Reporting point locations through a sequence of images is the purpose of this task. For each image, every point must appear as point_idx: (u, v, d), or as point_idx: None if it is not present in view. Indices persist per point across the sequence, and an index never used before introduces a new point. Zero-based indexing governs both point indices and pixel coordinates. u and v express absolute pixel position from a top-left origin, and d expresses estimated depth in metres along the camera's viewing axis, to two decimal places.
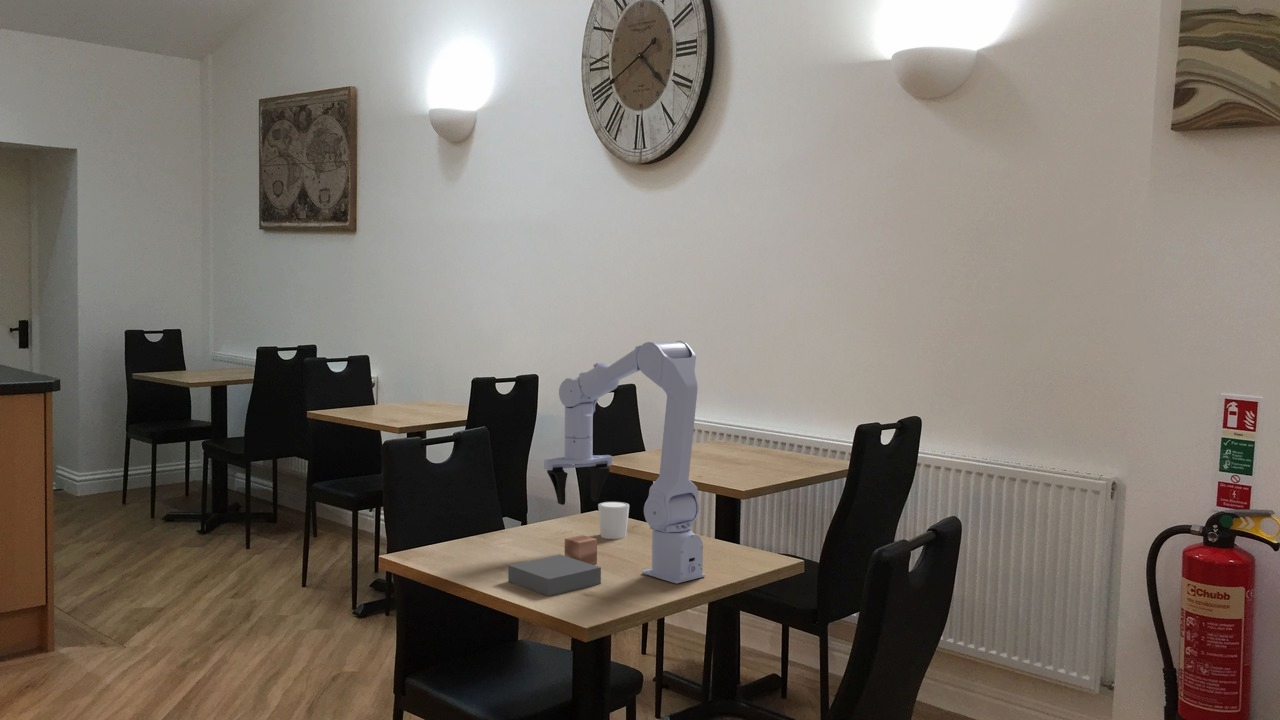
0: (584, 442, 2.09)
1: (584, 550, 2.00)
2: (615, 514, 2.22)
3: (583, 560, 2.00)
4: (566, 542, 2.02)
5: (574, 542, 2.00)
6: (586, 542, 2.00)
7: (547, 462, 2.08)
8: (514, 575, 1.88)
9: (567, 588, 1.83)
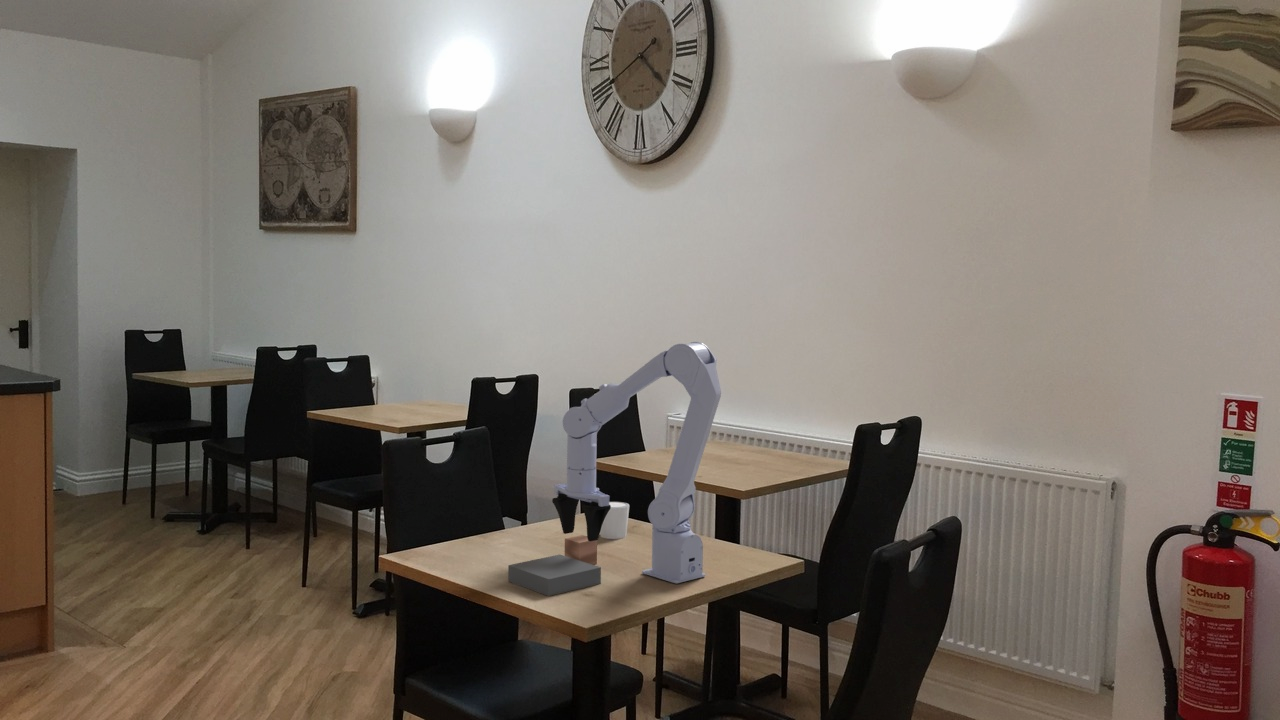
0: (570, 473, 1.99)
1: (584, 550, 2.00)
2: (615, 514, 2.22)
3: (583, 560, 2.00)
4: (566, 542, 2.02)
5: (574, 542, 2.00)
6: (586, 542, 2.00)
7: None
8: (514, 575, 1.88)
9: (567, 588, 1.83)
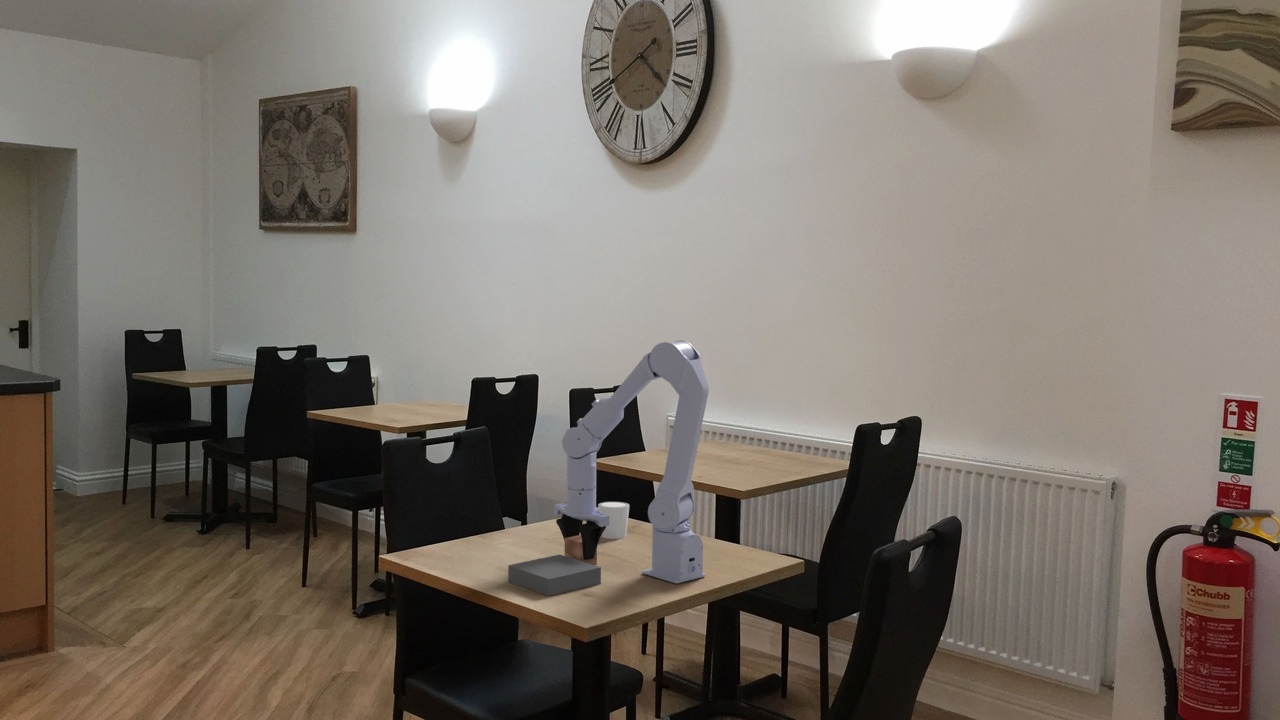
0: (569, 493, 1.99)
1: None
2: (615, 514, 2.22)
3: (583, 560, 2.00)
4: (566, 542, 2.02)
5: (574, 542, 2.00)
6: None
7: None
8: (514, 575, 1.88)
9: (567, 588, 1.83)
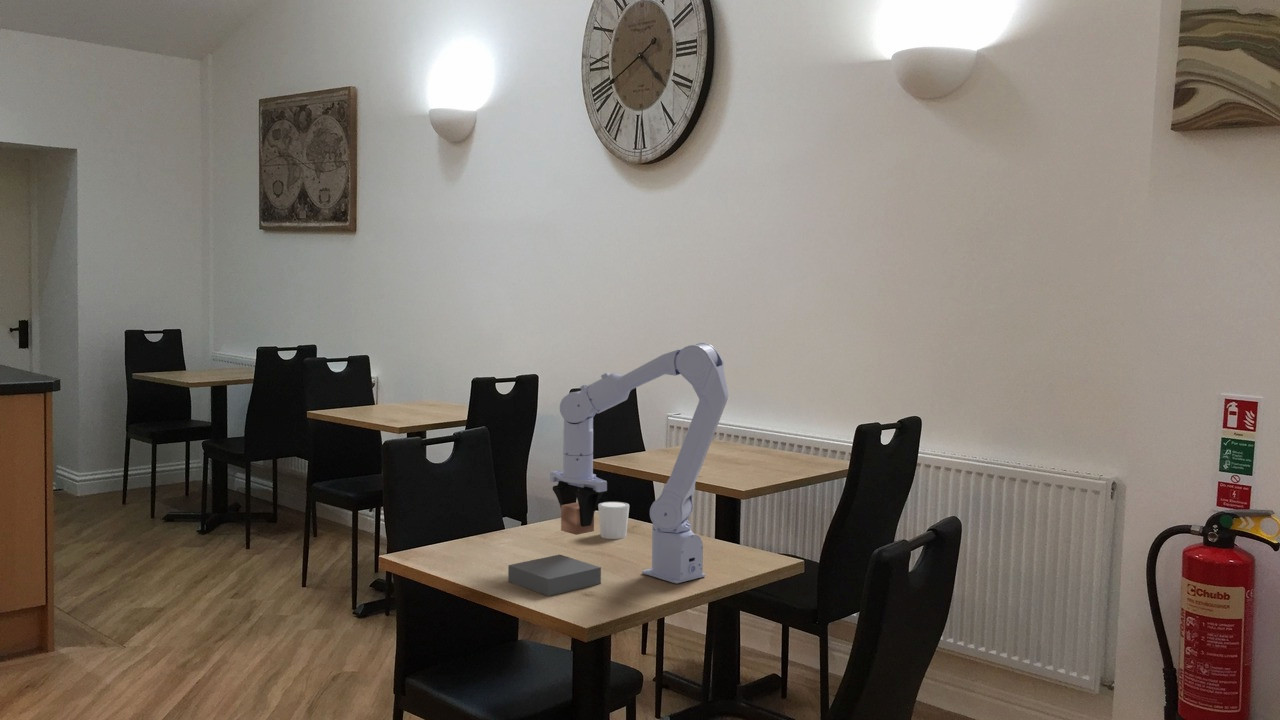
0: (566, 459, 1.97)
1: None
2: (615, 514, 2.22)
3: (580, 526, 1.97)
4: (563, 509, 1.99)
5: (571, 508, 1.97)
6: None
7: None
8: (514, 575, 1.88)
9: (567, 588, 1.83)
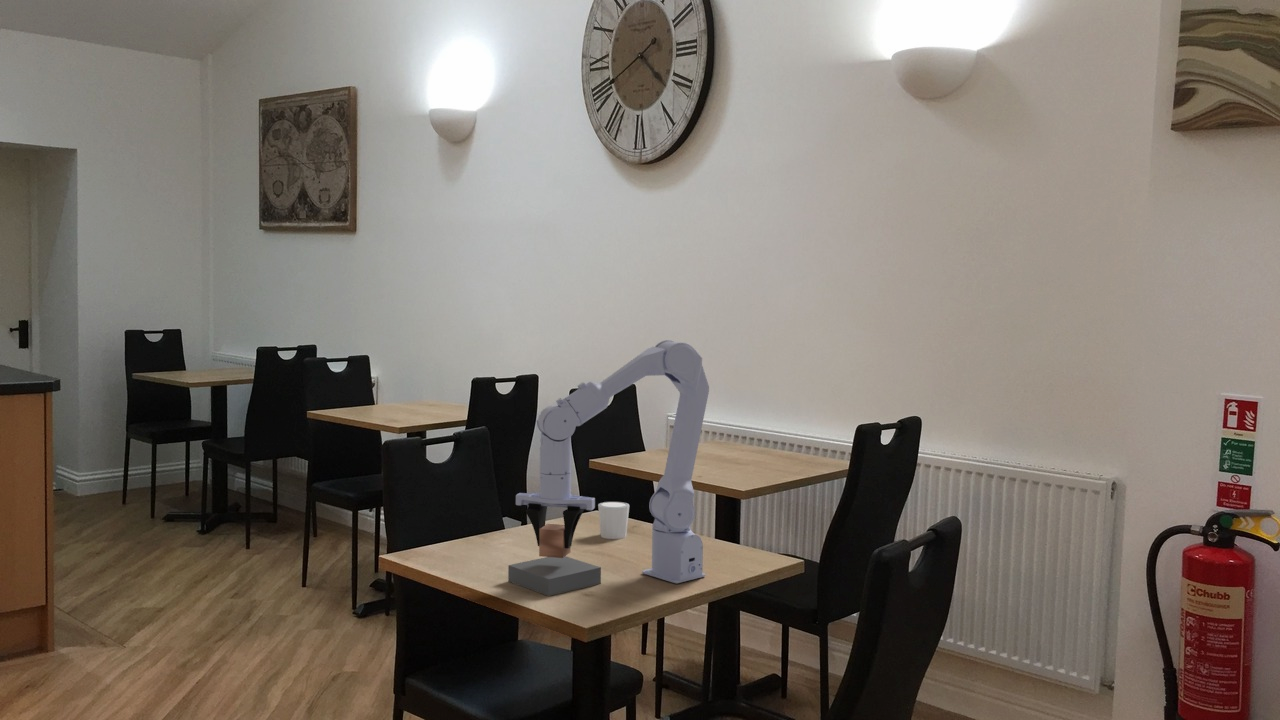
0: (550, 479, 1.85)
1: None
2: (615, 514, 2.22)
3: (564, 549, 1.87)
4: (542, 532, 1.87)
5: (555, 531, 1.86)
6: None
7: None
8: (514, 575, 1.88)
9: (567, 588, 1.83)
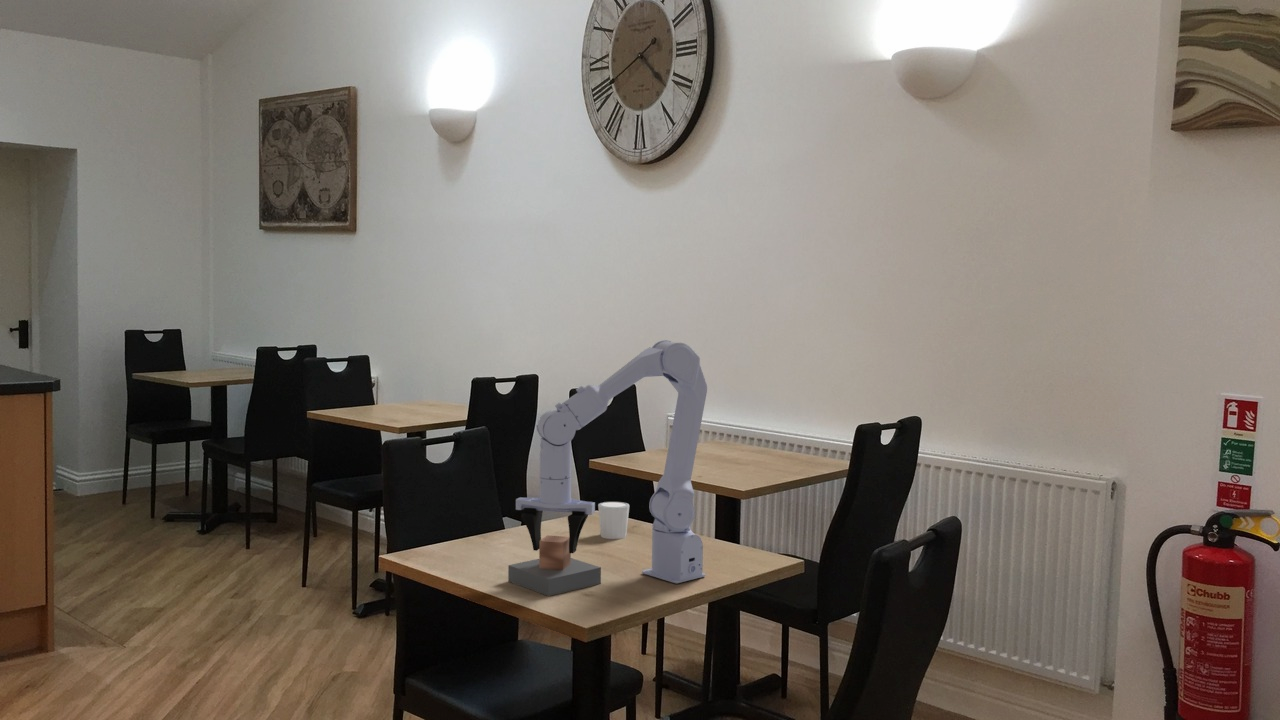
0: (550, 484, 1.85)
1: (565, 550, 1.87)
2: (615, 514, 2.22)
3: (564, 561, 1.87)
4: (542, 544, 1.87)
5: (555, 543, 1.86)
6: (566, 541, 1.88)
7: None
8: (514, 575, 1.88)
9: (567, 588, 1.83)
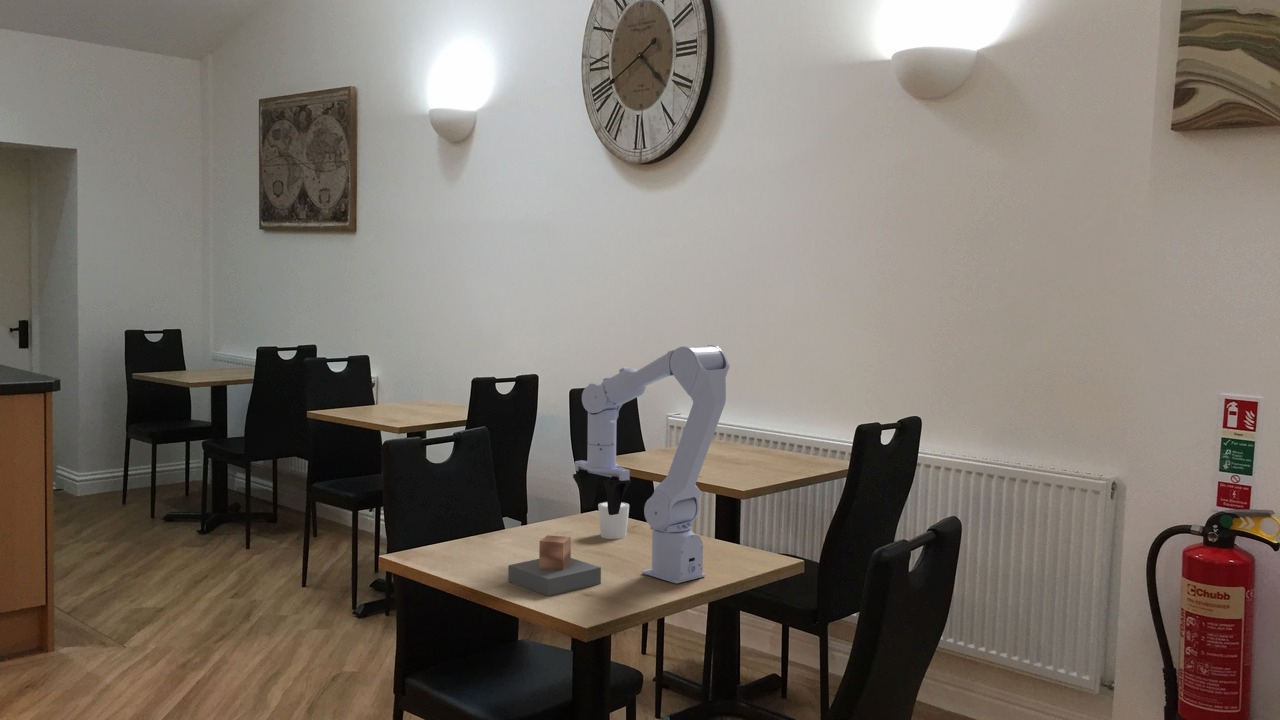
0: (590, 449, 2.03)
1: (565, 550, 1.87)
2: (615, 514, 2.22)
3: (564, 561, 1.87)
4: (542, 544, 1.87)
5: (555, 543, 1.86)
6: (566, 541, 1.88)
7: None
8: (514, 575, 1.88)
9: (567, 588, 1.83)
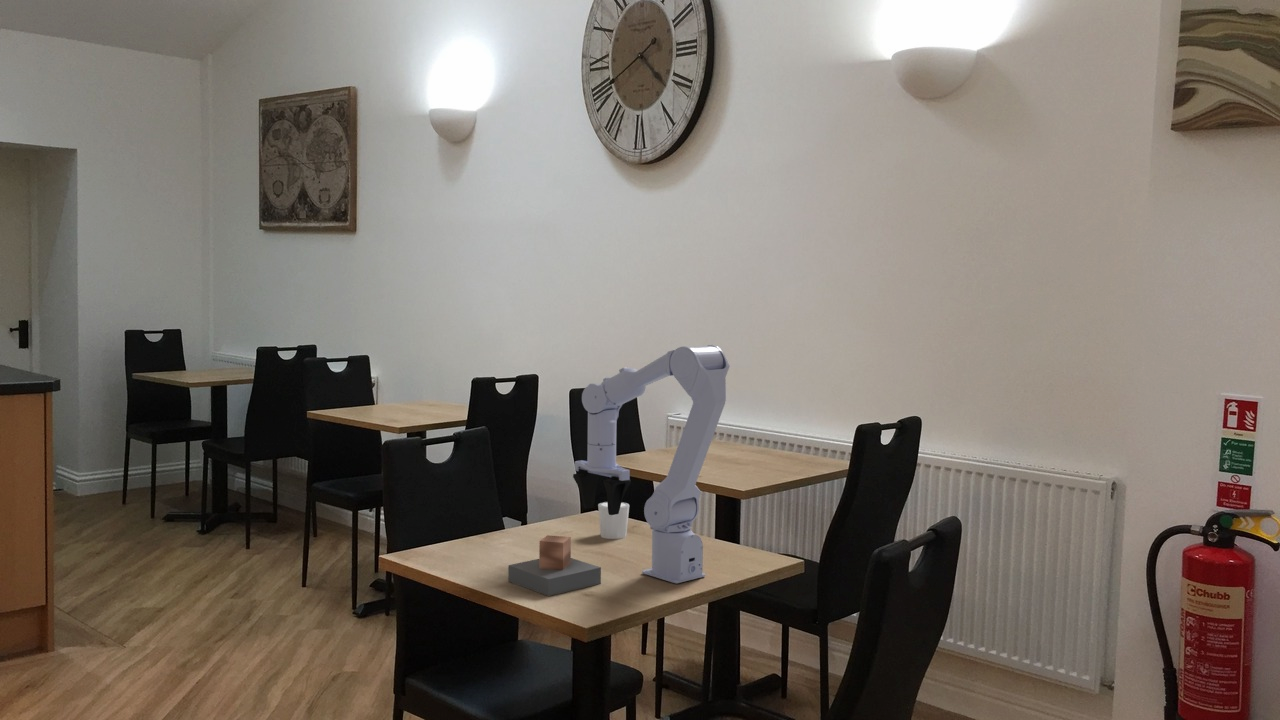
0: (590, 449, 2.04)
1: (565, 550, 1.87)
2: (615, 514, 2.22)
3: (564, 561, 1.87)
4: (542, 544, 1.87)
5: (555, 543, 1.86)
6: (566, 541, 1.88)
7: None
8: (514, 575, 1.88)
9: (567, 588, 1.83)
